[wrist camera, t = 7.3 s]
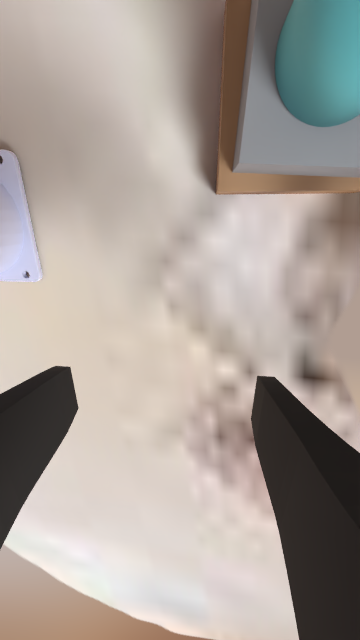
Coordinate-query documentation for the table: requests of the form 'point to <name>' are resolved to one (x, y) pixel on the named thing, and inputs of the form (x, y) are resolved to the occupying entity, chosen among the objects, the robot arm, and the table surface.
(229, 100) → the tower bottom
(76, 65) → the table surface
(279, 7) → the tower top
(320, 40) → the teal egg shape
